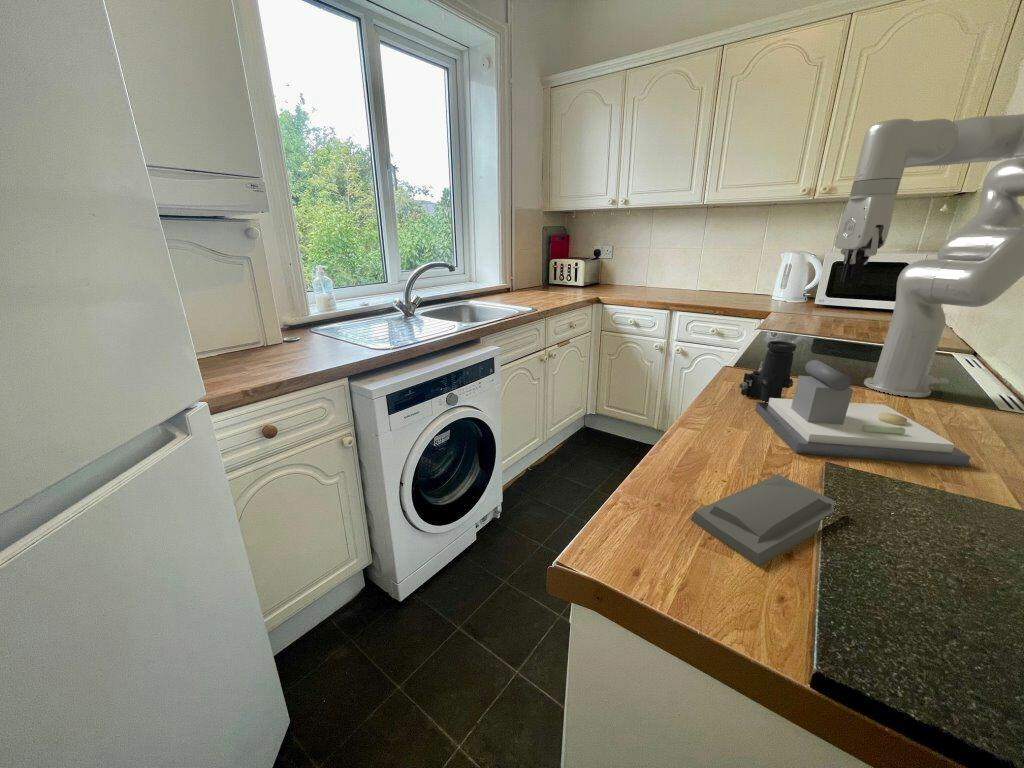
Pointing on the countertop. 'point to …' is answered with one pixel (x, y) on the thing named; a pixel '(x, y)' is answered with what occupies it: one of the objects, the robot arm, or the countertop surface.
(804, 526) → the soap mold
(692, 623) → the countertop surface
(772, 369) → the scope
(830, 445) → the leveling base
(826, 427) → the leveling plate
